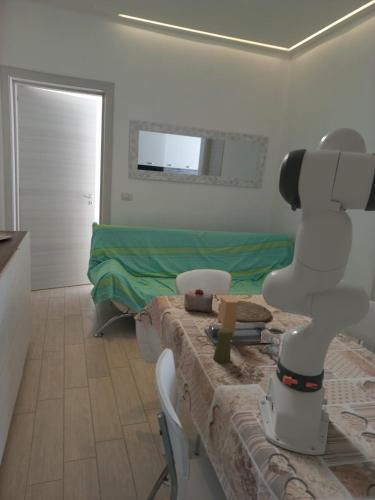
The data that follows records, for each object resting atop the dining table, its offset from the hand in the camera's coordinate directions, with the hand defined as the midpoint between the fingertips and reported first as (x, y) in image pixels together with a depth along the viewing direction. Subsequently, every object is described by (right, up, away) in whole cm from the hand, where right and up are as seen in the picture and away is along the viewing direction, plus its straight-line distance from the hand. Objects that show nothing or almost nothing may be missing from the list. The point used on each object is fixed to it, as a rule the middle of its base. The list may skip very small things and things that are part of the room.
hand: (321, 260), depth 116 cm
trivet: (-18, -27, +48) cm, 58 cm away
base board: (-26, -31, +21) cm, 45 cm away
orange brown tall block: (-31, -29, +19) cm, 47 cm away
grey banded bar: (-25, -30, +21) cm, 44 cm away
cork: (-34, -34, +3) cm, 48 cm away
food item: (-41, -25, +47) cm, 67 cm away
